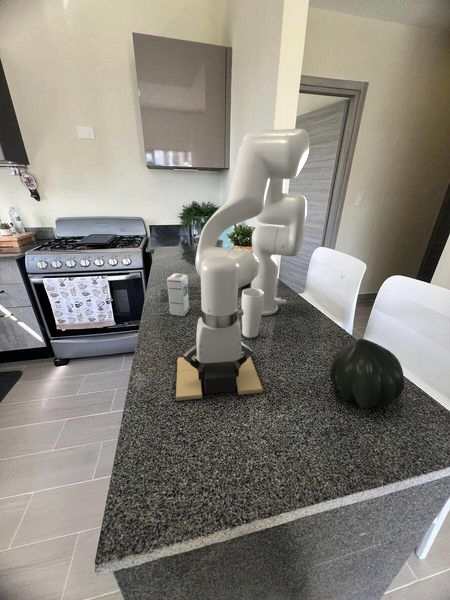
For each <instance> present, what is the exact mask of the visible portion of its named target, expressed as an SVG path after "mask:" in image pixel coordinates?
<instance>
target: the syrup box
mask: <svg viewBox="0 0 450 600" xmlns="http://www.w3.org/2000/svg"><path fill="white" fill-rule="evenodd" d="M188 278H189V275H188V274H186V273H172V274H171V275H170V276H169V277H167V278H166V285H167V295H168V296H167V297H168V304H169V305H168V307H169V315H173V316H180V317H185V316H186V315H187V314H188V312H189V311H190V293H189V279H188Z"/></svg>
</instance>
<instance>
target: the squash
mask: <svg viewBox="0 0 450 600" xmlns="http://www.w3.org/2000/svg"><path fill="white" fill-rule="evenodd" d="M329 377H330V381H331V383H332V384H333V385H334V386H335V387H336V388H337V389H338V391H339V392H340V394H341V395H342V397H343V398H344V399H345V400H346V401H348V402H355V401H356V403H357V405H358V406H359V407H360V408H362V409H366V410H368V409H371V408H372V407H374V406H376V407H379V408H388V407H389V406H390V405H391V404H392V403H393V402H394V401H396V400H397V399H399V398H400V396H401V395H402V393H403V391H404V388H405V379H404V371H403V367H402V364H401V362H400V361H399V359H398V358H397V356H396V355H395V354H394V353H393V352H392V351H390V350H389V349H387V348H386V347H384V346H382V345H379V344H378V343H375V342H374V341H372V340H369V339H367V338H366V339H365V338H362V337H361V338H359V339H356V340H354V341H353V342H351V343H349V344H347V345H345V346H343V347H342V348H340V349H339V350H338V351H337V352H336V354H335V355H334V356H333V359H332V363H331V366H330V368H329Z"/></svg>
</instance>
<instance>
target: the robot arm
mask: <svg viewBox="0 0 450 600" xmlns="http://www.w3.org/2000/svg"><path fill="white" fill-rule="evenodd" d="M309 151H310V135H309V132H308V131H307V130H306V129H304V128H284V129H283V128H282V129H261V130H260V129H259V130H253V131H250V132H248V133H246V134H245V135H244V136H243V138H242V140H241V144H240V146H239V149H238V152H237V156H236V161H235V165H234V170H233V174H232V179H231V183H230V188H229V192H228V197H227V200H226V202H225V203H224V204H223V205H221V206H220V207H219V208H217V210H216V211H215V212H214V213H213V214H212V215H211V217H210V218H209V219H208V220H207V222H206V223H205V224H204V226H203V228H202V230H201V232H200V235H199V240H198V244H197V248H196V253H195V260H194V261H195V262H194V263H195V270H196V272H197V274H198V276H200V300H201V303H200V305H201V312H200V313H201V316H200V317H198V320H197V324H196V336H195V344H194V345H193V346H192V347H190V348H189V349H188V350H186V352H184V353H183V357H184V359H185V360H186V361H187V362H188V363H190V365H191V366H193V367H194V368H196V369H197V371H198V377H199V380H201V386H204V384H205V379H204V372H205V371H204V367H205V365H206V363H216V362H228V361H232V365H233V369H234V371H235V375H236V377H238V376H239V368H241V365H242V364H243V363H244V362H246V361H247V358H249V357H251V356H252V355H253V354H254V351H253V349H252V347H250V346H248V345H247V344H246V343H244V342H242V328H241V322H240V319H239V318H240V317H241V316H242V315H243V314H244V312H243V309H242V308H241V309H240V308H238V296H239V289H241V288H240V287H242V286H245V285H247V284H249V283H250V282H251V284H250V288H255V289H260V290H262V291H263V292H264V303H263V309H262V315H261V316H269V315H270V316H271V315H274V314H276V313H277V312H278V310H279V305H287V302H288V301H287V299H282V298H281V297H276V293H277V286H278V285H277V284H278V275H279V263H278V261H277V259H276V257H275V256H283V257H284V256H285V257H297V256H299V255H300V254H301V252H302V250H303V245H304V240H305V239H304V237H305V229H306V221H307V213H308V202H307V199H306V197H305V196H304V195H303V194H299V193H287V192H285V180H292V179H295V178H297V176H298V175H299V173H300V171H302V168H303V166H304V164H305V163H306V161H307V158H308V155H309ZM255 217H256V219H257V221H258V222H259V223H260V224H265V225H260V226H257V227H256V228H254V230H253V231H252V234H251V249H252V251H249V250H244V249H237V248H230V247H223V248H221V247H215V246H216V243H217V240H218V239H219V238H220V237H221V236H222V234H223V233H224V232H225V231H226V230H228V229H229V228H231V227H233V226H236V225H238V224H240V223H243V222H245V221H247V220H251V219H253V218H255ZM241 353H243V354H241ZM194 356H197V359H198V360H197V359H196V358H194ZM235 382H236V381H235Z"/></svg>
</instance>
